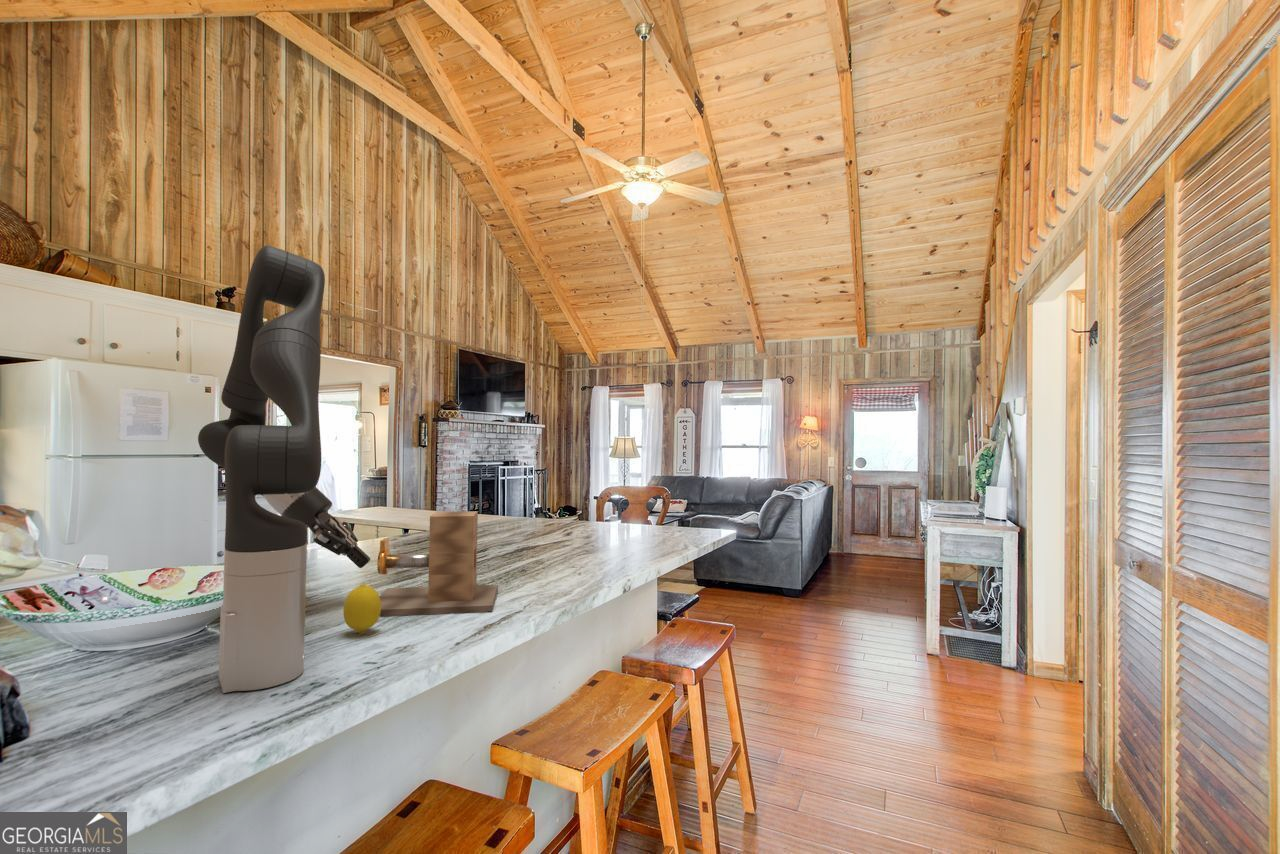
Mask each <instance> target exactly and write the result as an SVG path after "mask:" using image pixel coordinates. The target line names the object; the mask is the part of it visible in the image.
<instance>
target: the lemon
mask: <svg viewBox="0 0 1280 854" xmlns="http://www.w3.org/2000/svg"><path fill="white" fill-rule="evenodd" d="M379 596H380V595H379V592H378V591H377V590H376V589H375V588H373V587H371V586H369V585H367V584H366V583H362V584H360V585H359V586H357V587H355V588H354V589H352V590H351V591H350V592H349V593H348V595H347V596H346V598H345V600H344V603H343V604H344V605H343V618H344V621H345V623H346V625H347V626H348V628H350V629H351V630H355V631H357V632H358V633H359V634H364V633H365V632H366V631H367V630H368V629H370V628H372V627H374V625H375V624H376V623H377V622H378V621H379V619H380V617H381V616H380V612H381V601H380V597H379ZM379 616H380V617H379Z"/></svg>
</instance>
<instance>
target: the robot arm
mask: <svg viewBox="0 0 1280 854" xmlns="http://www.w3.org/2000/svg"><path fill="white" fill-rule="evenodd" d="M325 276H326V275H325V271H324V269H323V267H322V266H321V265H320V264H318V263H317V262H315V261H313V260H311V259H309V258H306V257H303V256H301V255H297V254H295V253H292V252H289V251H286V250H284V249H280V248H279V247H275V246H272V245H264V246H262V247H261V248H260V249H259V250H258V252H257V253H256V255H255V257H254V259H253V261H252V264H251V268H250V270H249V274H248V278H247V283H246V288H245V292H244V298H243V303H242V307H241V312H240V318H239V324H238V329H237V337H236V343H235V347H234V352H233V355H232V356H233V357H232V360H231V364H230V366H229V370H228V374H227V376H226V379H225V382H224V385H223V388H222V392H221V398H220V399H221V402H222V404H223V405H224V406H225V407H226V408H228V409H229V410H230V414H229V417H228V418H227V419H223V420H216V421H213V422H210V423H207V424H206V425H204V426H202V428H201V429H200V430H199V432H198V436H197V442H198V446H199V449H201V451H202V453H203V454H204V456H206V458H208V459H209V460H211V462H213V463H214V464H216V465H217V466H218V467H221V468H223V469H224V478H225V479H224V480H225V481H224V482H225V530H224V531H225V535H224V555H223V556H224V559H223V591H222V593H223V596H222V604H221V606H220V619H219V651H218V653H219V654H218V682H219V685H220V689H221V691H222V692H221V693H225V694H226V693H231V692H241V691H242V692H243V691H244V692H245V691H246V692H247V691H256V690H257V691H258V690H262V689H268V688H272V687H277V686H280V685H282V684H286V683H289V682H290V681H293V680H295V679H296V678H298V677H300V676H301V675H302V674H303V672H304V670H305V669H304V668H305V635H306V634H305V631H306V597H307V596H306V593H307V589H306V588H307V558H308V557H307V556H308V554H307V553H308V551H307V550H308V528H309V530H310V531H311V532H312V533H313V536H314V538H313V542H314V543H315V544H317V545H319V546H321V547H322V548H325V549H326V550H328V551H330V552H332V553H334V554H335V555H337V556H340V555H342V556H344V557H345V556H346V557H347V558H348V559H349V560H350V561H351V562H352V563H353V564H355V566H357V568H359V569H362V568H363V567H365V566H366V565H367V564H368V563H369V562H370V561H371V557H370V556H369V555H368V554H366V553H365V551H364V550H362V549H361V548H360V546H358V545H359V544H358V542H359V540H358V538H357V536H356V535H355V532H353V529H352V528H351V526H350V525H349V524H348V522H346V521H343V522H342V521H341V520H340V518H338V517H336V516H333V515H332V514H330V513H329V510H330V509H331V508H332V506H333V502H332V500H330V499H329V498H328V497H327V496H326V495H325V494H324V493H323V492H322V491H321V490H320V489H319V488H317V487H316V486H318V482H319V480H320V477H321V472H322V470H321V469H322V442H321V427H320V414H319V412H320V411H319V393H320V392H319V391H320V380H321V379H320V377H321V362H322V361H321V359H322V358H321V353H322V352H321V351H322V350H321V314H322V307H323V300H324V292H325V285H326V283H325V282H326V277H325ZM266 301H269V302H273V303H275V304H279V305H282V306H285V307H288V308H292V309H291V310H290V311H287V312H286V313H283V314H281V315H279V316H276V317H275V318H273V319H271V320H270V321H268V322H266V323H265V322H264V308H265V302H266ZM269 399H270V400H271V401H272V402H273V403H274V404H275V405H276V406H277V407H278V408H279V409H280V410H281V411H282V412H283V414H284V415H285V416H286V419H288V421H289V423H290V425H268V424H267V425H266V420H267V419H266V418H267V417H266V416H267V409H266V408H267V407H266V406H267V403H268V400H269ZM260 495H261V496H262V497H263V498H264V500H265V501H267V503H268V504H269V505H270V507H272V508H273V510H275V511H276V512H277V513H278V514H277V513H274V512H272V511H270V510H267V509H266V508H264V507H263V506H261V505H260V504H259V503H258V502H257V500H256V496H260Z"/></svg>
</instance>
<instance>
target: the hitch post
mask: <svg viewBox="0 0 1280 854" xmlns="http://www.w3.org/2000/svg"><path fill="white" fill-rule="evenodd" d="M478 512H479V511H473V510H471V511H470V510H469V511H468V510H465V511H464V510H463V511H435V512H434V513H433V514H432V515H430V516H429V533H428V534H429V541H428V542H429V543H428V545H429V546H428V551H429V552H428V554H429V567H428V585H427V586H421V587H420V586H419V587H417V586H415V587H413V586H412V587H390V588H389V587H388V588H386V590H385V589H384V591H383V592H382V593H381V594H380V595H379V597H380V601H381V612H380V616H379V618H381V617H398V616H399V617H400V616H401V617H402V616H404V617H405V616H426V615H446V614H447V615H449V614H450V615H451V613H454V614H471V613H470V612H479V613H488V612H487V611H492V610H494V607H493V606H494V605H495V603H496V602H495V601H496V600H497V593H498V591H499V590H498V589H499V585H498V584H481V585H479V584H478V585H477V583H478V581H477V577H478V576H477V575H478V573H477V572H478V567H477V566H478V524H479V522H478V519H479V518H478V516H479V515H478V514H479V513H478ZM494 602H495V603H494ZM492 612H493V611H492Z"/></svg>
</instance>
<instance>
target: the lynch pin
mask: <svg viewBox="0 0 1280 854" xmlns="http://www.w3.org/2000/svg"><path fill="white" fill-rule="evenodd" d="M389 545H390V539H389V538H386V537H384V538H383V539H382V540H380V541H379V552H378V556H377V567H376V568H377V572H378V575H381V576H382V575H388V574H389V572H390V569H413V568H415V569H416V568H417V569H418V568H421V569H422V568H429V553H405V554H404V553H401V554H400V553H398V554H396V553H395V554H391V551H390V549H389V548H390V547H389Z"/></svg>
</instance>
